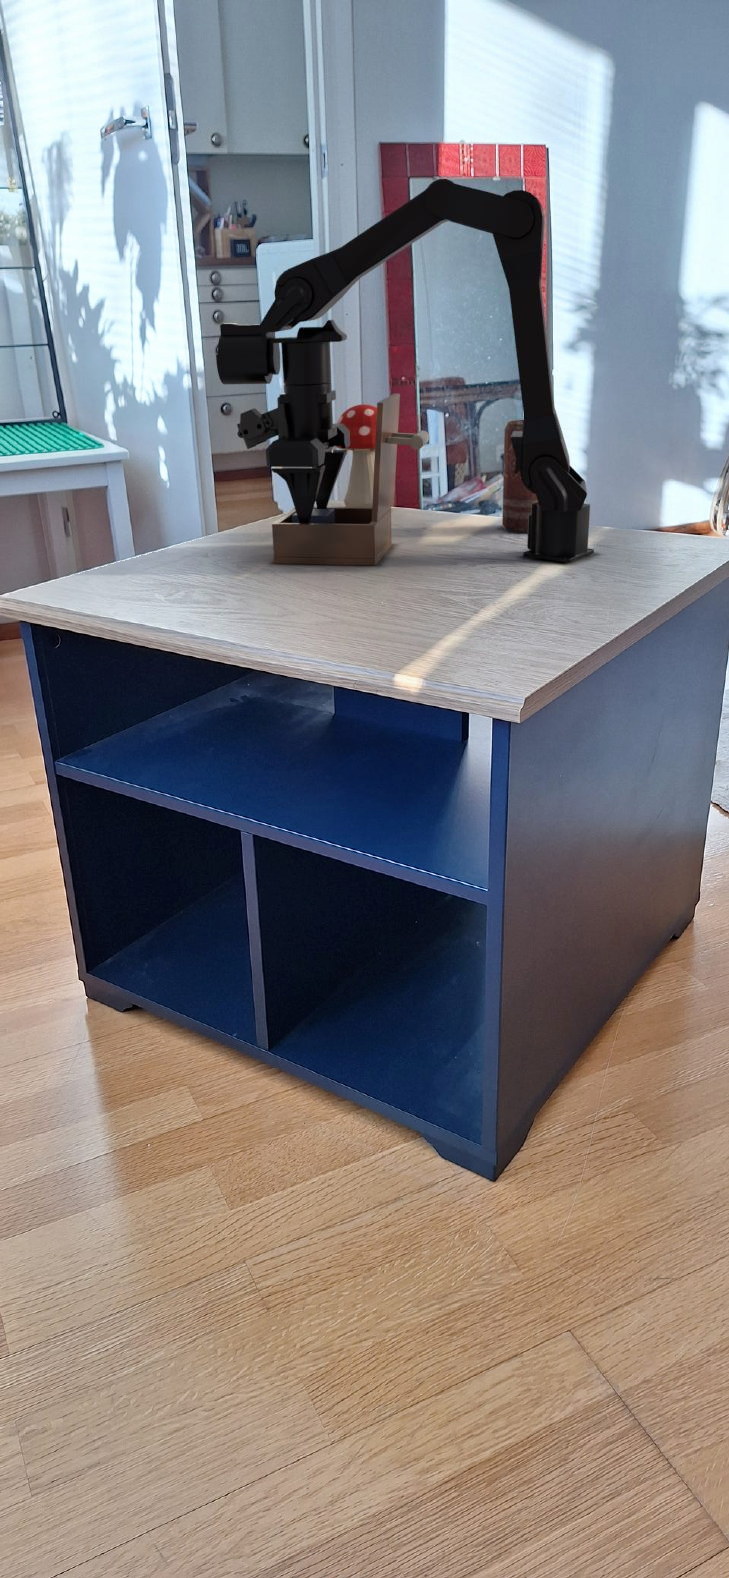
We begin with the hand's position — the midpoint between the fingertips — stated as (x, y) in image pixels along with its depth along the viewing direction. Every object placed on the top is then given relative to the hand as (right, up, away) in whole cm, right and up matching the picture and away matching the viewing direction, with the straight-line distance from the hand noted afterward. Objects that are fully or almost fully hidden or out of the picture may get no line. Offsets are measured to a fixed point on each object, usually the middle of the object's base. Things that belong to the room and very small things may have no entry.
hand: (313, 516), depth 139 cm
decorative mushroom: (+7, +8, +29) cm, 31 cm away
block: (0, -3, +2) cm, 4 cm away
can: (+28, +1, +13) cm, 31 cm away
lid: (+9, +6, -5) cm, 12 cm away
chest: (+3, -4, +1) cm, 5 cm away
